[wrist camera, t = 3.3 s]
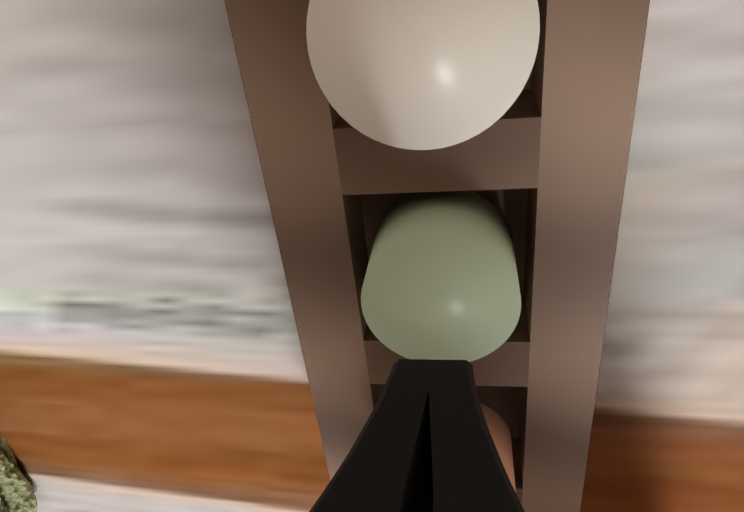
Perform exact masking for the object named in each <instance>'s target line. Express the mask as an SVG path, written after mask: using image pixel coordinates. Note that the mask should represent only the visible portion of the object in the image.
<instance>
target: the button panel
mask: <svg viewBox="0 0 744 512" xmlns="http://www.w3.org/2000/svg"><path fill="white" fill-rule="evenodd" d="M309 1H310V0H225V5H226V9H227V14H228V18H229V23H230V27H231V32H232V36H233V41H234V45H235V50H236V54H237V59H238V63H239V68H240V72H241V77H242V81H243V86H244V90H245V95H246V99H247V104H248V109H249V113H250V118H251V122H252V127H253V131H254V136H255V140H256V145H257V149H258V154H259V158H260V163H261V167H262V172H263V176H264V181H265V185H266V190H267V194H268V199H269V203H270V208H271V212H272V217H273V221H274V226H275V231H276V235H277V240H278V244H279V249H280V253H281V258H282V262H283V267H284V271H285V276H286V280H287V285H288V289H289V294H290V298H291V303H292V307H293V312H294V316H295V321H296V325H297V330H298V334H299V339H300V343H301V348H302V353H303V357H304V362H305V366H306V371H307V375H308V380H309V384H310V389H311V393H312V398H313V402H314V407H315V411H316V416H317V420H318V425H319V429H320V434H321V438H322V443H323V447H324V452H325V456H326V461H327V465H328V470H329V475H330V479H332V478H333V476H334V475H335V473H336V472H337V470H338V469H339V467H340V466H341V464H342V462H343V461H344V459H345V458H346V456H347V455H348V453H349V451H350V450H351V448H352V446H353V445H354V443H355V441H356V439H357V437H358V436H359V434H360V432H361V430H362V429H363V427H364V425H365V423H366V422H367V420H368V418H369V416H370V414H371V412H372V411H373V409H374V407H375V405H376V403H377V401H378V399H379V397H380V395H381V393H382V390H383V388H384V386H385V384H386V382H387V379H388V377H389V375H390V372H391V369H392V367H393V364H394V363H395V362H396V361H398V360H399V359H408V358H405V357H403V356H401V355H399V354H397V353H395V352H394V351H392V350H391V349H389V348H388V347H386V346H385V345H384V344H383V343H382V342H381V341H380V340H379V339H378V338H377V337H376V336H375V335H374V334H373V332H372V331H371V330H370V328H369V326H368V325H367V323H366V321H365V318H364V315H363V312H362V307H361V291H362V286H363V282H364V278H365V274H366V271H367V267H368V263H369V259H370V255H371V251H372V247H373V243H374V239H375V235H376V232H377V228H378V225H379V223H380V221H381V219H382V217H383V216H384V214H385V213H386V212H387V210H388V209H389V208H390V207H391V206H392V205H393V204H394V203H395V202H396V201H398V200H399V199H401V198H402V197H404V196H406V195H408V194H410V193H416V192H443V191H472V192H474V193H477V194H479V195H480V196H482V197H484V198H486V199H487V200H488V201H490V202H491V203H492V204H493V205H494V206H496V207H497V208H498V209H499V211H500V212H501V213H502V214H503V216H504V217H505V219H506V221H507V223H508V225H509V227H510V230H511V234H512V238H513V245H514V252H515V259H516V266H517V273H518V280H519V287H520V294H521V312H520V317H519V320H518V323H517V325H516V327H515V329H514V331H513V332H512V334H511V335H510V337H509V338H508V339H507V340H506V341H505V342H504V343H503V344H502V345H501V346H500V347H499V348H497V349H496V350H495V351H493V352H491V353H490V354H488V355H486V356H484V357H482V358H480V359H477V360H474V361H471V362H470V363H471V364H472V365H473V374H474V380H475V385H476V389H477V393H478V397H479V401H480V403H482V404H484V405H486V406H488V407H490V408H491V409H493V410H494V411H495V412H496V413H498V414H499V415H500V416H501V417H502V418H503V420H504V421H505V422H506V424H507V426H508V428H509V430H510V434H511V443H512V454H513V466H514V477H515V489H516V494H517V496H518V499H519V501H520V503H521V505H522V507H523V509H524V511H525V512H580V508H581V501H582V494H583V486H584V479H585V472H586V464H587V457H588V450H589V442H590V435H591V428H592V420H593V413H594V406H595V399H596V391H597V384H598V377H599V369H600V362H601V355H602V347H603V340H604V333H605V325H606V318H607V311H608V303H609V296H610V289H611V282H612V274H613V267H614V260H615V252H616V245H617V238H618V230H619V223H620V216H621V208H622V201H623V194H624V186H625V179H626V172H627V165H628V157H629V150H630V143H631V135H632V128H633V121H634V113H635V106H636V99H637V91H638V84H639V77H640V69H641V62H642V55H643V48H644V40H645V33H646V26H647V18H648V11H649V4H650V0H537V1H538V7H539V14H540V34H539V44H538V50H537V54H536V58H535V62H534V65H533V68H532V71H531V73H530V76H529V78H528V80H527V82H526V84H525V86H524V88H523V90H522V92H521V93H520V95H519V96H518V98H517V99H516V100H515V102H514V103H513V105H512V106H511V107H510V108H509V109H508V110H507V111H506V113H505V114H504V115H503V116H502V117H501V118H500V119H498V120H497V121H496V122H495V123H494V124H493V125H492V126H490V127H489V128H487V129H486V130H484V131H483V132H481V133H480V134H478V135H476V136H474V137H472V138H470V139H469V140H467V141H464V142H461V143H458V144H456V145H453V146H449V147H444V148H440V149H432V150H410V149H402V148H397V147H393V146H389V145H386V144H383V143H381V142H378V141H376V140H373V139H371V138H370V137H368V136H366V135H364V134H362V133H361V132H359V131H358V130H357V129H355V128H354V127H352V126H351V125H350V124H349V123H348V122H346V121H345V120H344V119H343V118H342V117H341V116H340V115H339V114H338V113H337V111H336V110H335V109H334V108H333V107H332V105H331V104H330V103H329V101H328V100H327V98H326V97H325V95H324V94H323V92H322V90H321V88H320V86H319V84H318V82H317V80H316V78H315V75H314V72H313V69H312V66H311V62H310V58H309V53H308V47H307V37H306V25H307V13H308V6H309Z"/></svg>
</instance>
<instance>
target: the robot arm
mask: <svg viewBox="0 0 744 512" xmlns="http://www.w3.org/2000/svg"><path fill="white" fill-rule="evenodd" d="M309 512H525V511H524V509H523V507H522V505H521V503H520V501H519V499H518V496H517V494H516V492H515V490H514V488H513V486H512V484H511V482H510V479H509V477H508V475H507V473H506V470H505V468H504V466H503V464H502V461H501V459H500V456H499V454H498V451H497V449H496V446H495V444H494V441H493V439H492V436H491V434H490V431H489V428H488V426H487V423H486V420H485V417H484V414H483V410H482V407H481V404H480V401H479V397H478V393H477V389H476V385H475V380H474V374H473V365H472V364H471V363H470V362H468V361H467V360H429V359H399V360H398V361H396V362H395V363H394V364H393V367H392V369H391V372H390V375H389V377H388V379H387V382H386V384H385V386H384V388H383V390H382V393H381V395H380V397H379V399H378V401H377V403H376V405H375V407H374V409H373V411H372V412H371V414H370V416H369V418H368V420H367V422H366V423H365V425H364V427H363V429H362V430H361V432H360V434H359V436H358V437H357V439H356V441H355V443H354V445H353V446H352V448H351V450H350V451H349V453H348V455H347V456H346V458H345V459H344V461H343V462H342V464H341V466H340V467H339V469H338V470H337V472H336V473H335V475H334V476H333V478H332V479H331V481H330V482H329V484H328V485H327V487H326V489H325V490H324V492H323V493H322V495H321V496H320V497H319V499H318V500H317V502H316V503H315V504H314V506H313V507H312V509H311V510H310V511H309Z"/></svg>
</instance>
